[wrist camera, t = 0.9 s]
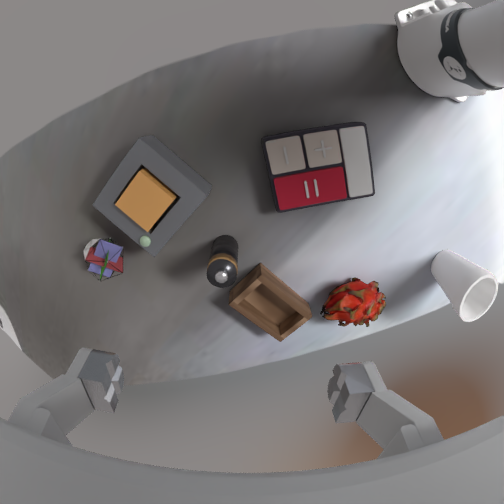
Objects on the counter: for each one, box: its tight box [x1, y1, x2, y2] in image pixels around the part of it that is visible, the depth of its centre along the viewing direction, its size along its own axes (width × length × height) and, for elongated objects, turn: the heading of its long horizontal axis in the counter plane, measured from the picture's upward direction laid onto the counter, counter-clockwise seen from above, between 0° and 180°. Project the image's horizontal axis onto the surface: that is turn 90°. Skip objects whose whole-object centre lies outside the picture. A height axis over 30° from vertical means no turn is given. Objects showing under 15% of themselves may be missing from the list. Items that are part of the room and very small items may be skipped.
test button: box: [115, 167, 178, 232], centre depth 39 cm, size 6×6×3 cm
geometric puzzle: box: [83, 238, 123, 282], centre depth 45 cm, size 7×7×8 cm
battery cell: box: [207, 235, 238, 288], centre depth 43 cm, size 4×4×10 cm
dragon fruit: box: [320, 278, 386, 327], centre depth 49 cm, size 8×8×12 cm
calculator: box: [261, 122, 375, 213], centre depth 41 cm, size 11×4×15 cm
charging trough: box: [229, 263, 312, 342], centre depth 50 cm, size 8×12×4 cm, turn 47°
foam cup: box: [431, 249, 498, 322], centre depth 44 cm, size 10×9×13 cm
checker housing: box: [93, 135, 212, 257], centre depth 41 cm, size 12×12×6 cm
